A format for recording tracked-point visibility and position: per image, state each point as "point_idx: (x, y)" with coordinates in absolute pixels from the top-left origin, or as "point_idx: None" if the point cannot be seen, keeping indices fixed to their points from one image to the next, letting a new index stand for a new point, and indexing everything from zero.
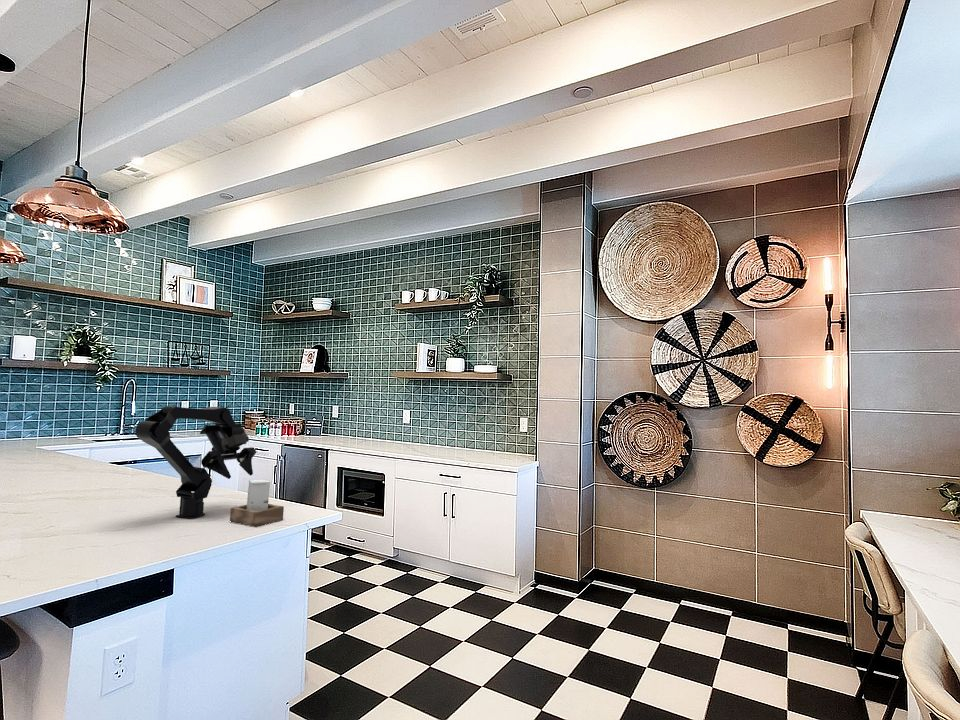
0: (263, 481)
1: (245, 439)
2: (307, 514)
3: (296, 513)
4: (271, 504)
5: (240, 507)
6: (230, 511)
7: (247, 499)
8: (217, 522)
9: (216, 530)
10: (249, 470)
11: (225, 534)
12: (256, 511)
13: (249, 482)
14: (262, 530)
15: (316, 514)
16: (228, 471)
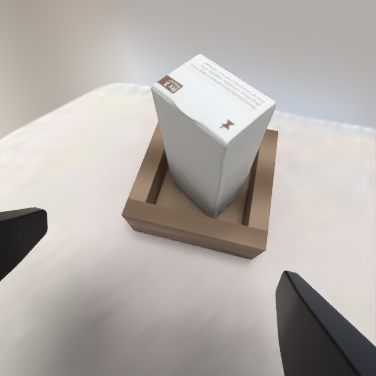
0: (218, 70)
1: None
2: (85, 116)
3: (79, 144)
4: (147, 153)
5: (234, 223)
6: (261, 252)
7: (221, 193)
8: (275, 297)
9: (353, 231)
10: (6, 238)
11: (366, 184)
12: (264, 140)
13: (239, 139)
14: (281, 130)
15: (80, 100)
16: (314, 309)
